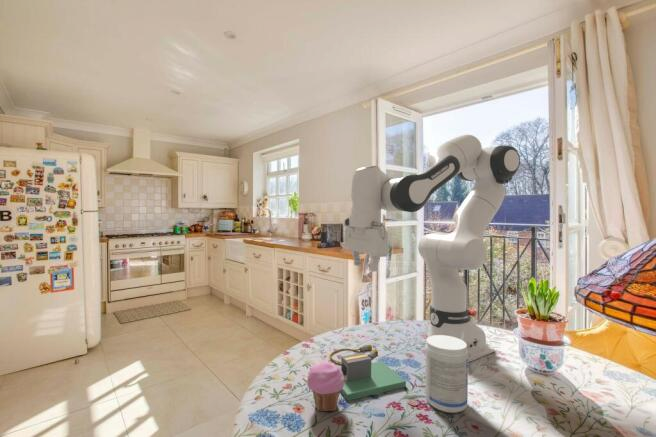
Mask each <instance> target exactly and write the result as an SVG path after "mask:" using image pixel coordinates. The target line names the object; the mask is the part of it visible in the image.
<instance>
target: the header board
mask: <svg viewBox="0 0 656 437" xmlns="http://www.w3.org/2000/svg"><path fill="white" fill-rule="evenodd" d="M343 376H344V379H345V383H344V386H343V389H342V390H340V393H341V395H342V396H343V398H345V400H346V401H347V402H348V401H351V400H356V399H360V398H364V397H367V396H368V397H370V396H372V395H377V394H382V393H386V392H390V391H394V390H398V389H402V388H406V387H407V381H406V380H405V379H404V378H403V377H402V376H400V375H399V373H397V372H396V371H394V370H393V369H392V368H390V367H389V366H388V365H387V364H385V363H384V362H383V361H382V360H380V361H375V362H371V377H370V378H365V379H360V380H355V381H350V382H347V375H343Z"/></svg>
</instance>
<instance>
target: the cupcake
mask: <svg viewBox="0 0 656 437" xmlns="http://www.w3.org/2000/svg"><path fill="white" fill-rule="evenodd" d="M306 383H307V384H306V385H307V387H308V388H309V390H311V391H312V394H313V401H314V406H315V408H316V409H317V411H320V412H321V411H322V412H335V411H336V410H337V407H338V401H339V397H340V393H341V392H340V390H342V389H343V386H344V383H345V379H344V376H343V373H342V371H341V367H339V366H338V364H336V363H334V362H333V363H332V362H331V361H330V362H329V361H322V362H320V363H316V364H315V365H312V367H311V368H310V370H309V371H308V375H307V381H306Z"/></svg>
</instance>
